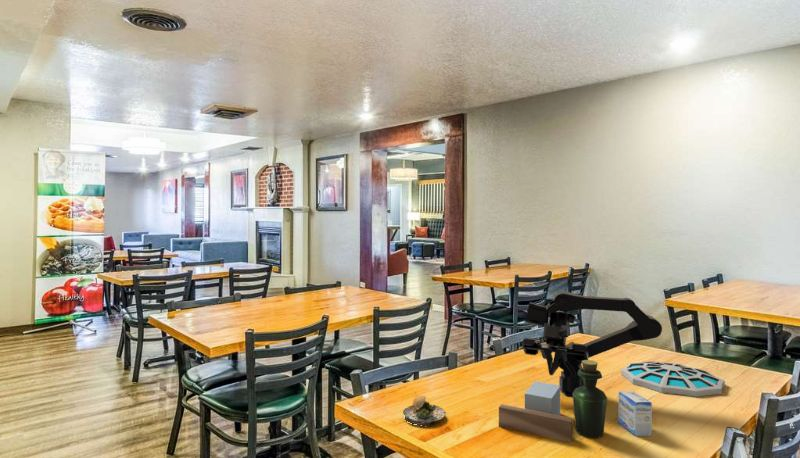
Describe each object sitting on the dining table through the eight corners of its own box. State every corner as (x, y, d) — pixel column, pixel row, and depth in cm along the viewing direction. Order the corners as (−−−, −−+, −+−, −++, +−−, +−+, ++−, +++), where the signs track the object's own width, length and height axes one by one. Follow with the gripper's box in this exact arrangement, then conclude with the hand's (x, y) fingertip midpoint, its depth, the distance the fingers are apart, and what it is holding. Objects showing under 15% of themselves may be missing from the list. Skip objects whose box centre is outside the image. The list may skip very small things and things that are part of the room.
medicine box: (617, 423, 122) (617, 391, 122) (633, 422, 122) (633, 390, 122) (635, 436, 114) (635, 402, 114) (652, 436, 115) (652, 401, 114)
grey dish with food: (433, 432, 118) (433, 403, 117) (394, 421, 124) (394, 394, 124) (453, 415, 128) (453, 388, 128) (416, 406, 134) (416, 381, 134)
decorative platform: (624, 389, 148) (624, 374, 148) (618, 364, 175) (618, 351, 175) (738, 403, 136) (738, 387, 136) (713, 374, 163) (713, 360, 163)
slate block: (535, 408, 132) (535, 381, 132) (560, 414, 128) (560, 385, 128) (524, 423, 122) (524, 393, 122) (551, 429, 119) (551, 398, 119)
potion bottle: (579, 440, 112) (580, 367, 112) (567, 425, 121) (567, 357, 120) (612, 440, 112) (613, 367, 112) (598, 425, 121) (598, 357, 120)
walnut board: (501, 422, 122) (501, 404, 122) (572, 438, 113) (572, 418, 113) (498, 426, 120) (498, 407, 120) (570, 442, 111) (570, 421, 111)
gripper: (523, 312, 143) (513, 356, 134) (586, 317, 134) (581, 365, 124) (529, 331, 150) (520, 375, 140) (590, 338, 141) (585, 385, 131)
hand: (550, 374), depth 134 cm, fingers closed
